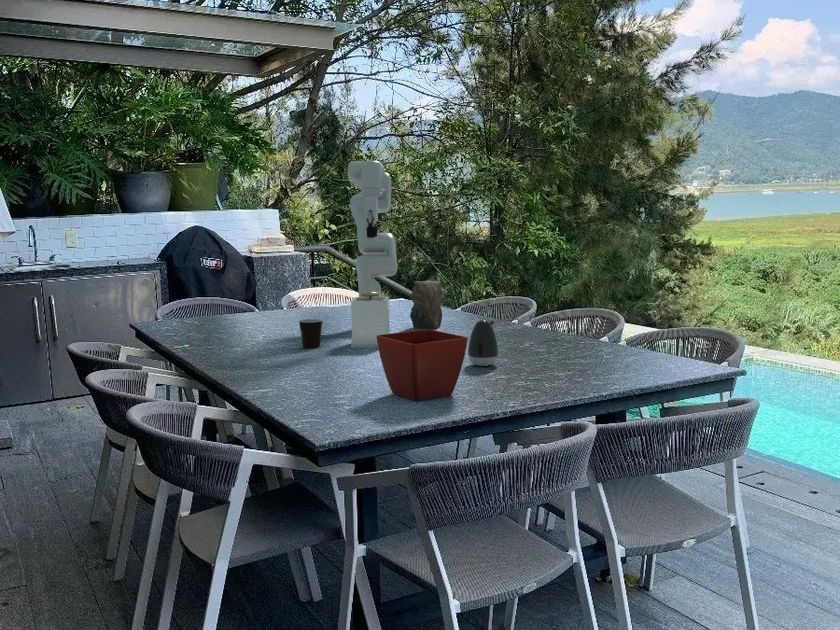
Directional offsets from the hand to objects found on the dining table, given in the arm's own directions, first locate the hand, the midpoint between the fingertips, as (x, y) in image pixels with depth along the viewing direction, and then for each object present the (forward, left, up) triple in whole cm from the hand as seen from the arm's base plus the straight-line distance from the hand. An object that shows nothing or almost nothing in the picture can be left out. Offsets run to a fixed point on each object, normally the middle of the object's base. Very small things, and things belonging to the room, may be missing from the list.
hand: (372, 237), depth 337 cm
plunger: (+14, 0, -37) cm, 40 cm away
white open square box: (+14, 0, -40) cm, 43 cm away
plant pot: (+99, +22, -41) cm, 109 cm away
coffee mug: (+17, -22, -40) cm, 49 cm away
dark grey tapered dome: (+57, +41, -40) cm, 81 cm away
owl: (-28, +21, -40) cm, 54 cm away
